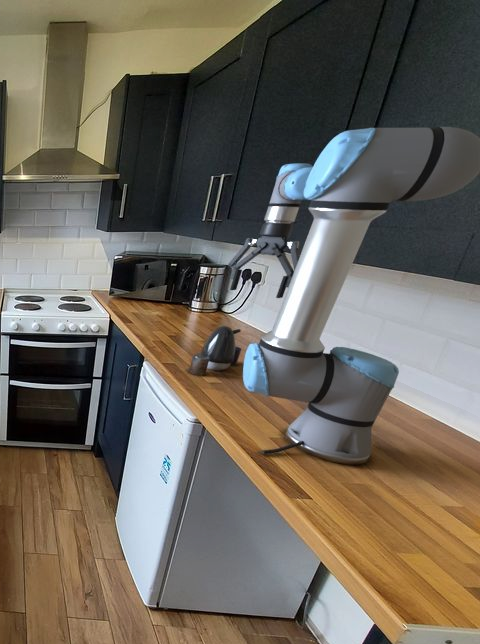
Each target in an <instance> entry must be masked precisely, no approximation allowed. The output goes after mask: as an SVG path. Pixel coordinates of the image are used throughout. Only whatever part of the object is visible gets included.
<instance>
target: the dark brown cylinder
mask: <svg viewBox="0 0 480 644" xmlns="http://www.w3.org/2000/svg"><path fill="white" fill-rule="evenodd" d="M209 360H210V357H208V356H206V355H202V354H200V353H194V354H193V355H192V358H191V362H190V365H189V369H188V373H189V374H191V375H194V376H201V377H203V376H205V375H206V373H207V370H208V368H207V366H208V363H209Z"/></svg>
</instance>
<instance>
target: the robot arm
mask: <svg viewBox="0 0 480 644" xmlns="http://www.w3.org/2000/svg"><path fill="white" fill-rule="evenodd" d="M479 173H480V137H479V136H478V135H476V134H475V133H474V132H472V131H470V130H466V129H463V128H460V127H453V126H436V127H368V128H359V129H350V130H349V129H348V130H345V131H343V132H340V133H339V134H337V135H336V136H334V137H333V138H332V139H331V140H330V141H329V142H328V143H327V145H326V146H325V147H324V148H323V150H322V151H321V153H320V154H319V155H318V157H317V159H316V160H315V162H314V165H312V164H310V163H303V162H302V163H299V162H297V163H285V164H283V165H282V166H281V167H280V169H279V172H278V175H277V176H276V178H275V179H276V180H275V184H274V187H273V190H272V194H271V196H270V201H269V203H268V206H267V210H266V212H265V215H264V219H263V220H264V221H265V222H264V223H262V225H261V228H260V231H259V236H258V238H256V239H255V238H254V237H248V238H247V237H246V239H245V241H244V244H243V246H241V248H240V249H239V250H238V252H236V254H235V255H234V256H233V257H232V259H231V260H230V261H229V262H228V264H227V267H230V268H231V269H232V272H231V275H230V280H232V282H231V284H230V288H229V291H236V290H237V289H238V286H239V282H240V279H241V276H242V272H243V269H241V268H242V267H244V266H245V265H247V264H248V263H250V261H252V260H253V259H254V258H256V257H258V256H259V255H262V256H263V255H265V256H266V255H268V256H275V257H276V258H277V260H278V261H279V263H280V266H281V267H282V268H283V270H284V272H285V274H286V275H283V276H282V279H281V281H280V284H279V288H278V290H277V292H276V293H277V294H276V296H275V298H276V299H281V298H283V300H282V303H281V305H280V309H279V311H278V314H277V317H276V319H275V322H274V325H273V327H272V329H271V330H270V331H268V332H266V333H264V334H262V335H261V337H260V340H259V343H257V342H254V343H250V344H249V345H248V347H247V349H246V352H245V353H244V354H245V355H244V360H243V370H242V379H243V385H244V388H245V389H246V390H247V391H248V392H250V393H253V394H258V395H263V396H265V397H271V398H279V399H284V400H290V401H295V402H296V401H297V402H301V403H302V402H303V403H308V404H307V407H306V408H305V410H304V411H302V413H300V415H299V416H298V417H296V419H295V420H294V421H292V422H291V423H290V424H289V426H287V429H286V432H285V439H286V440H287V441H288V442H289V443H290V444H287V445H284V446H281V447H277V448H273V449H264V450H261V451H260V454H262V455H267V454H275V453H279V452H283V451H286V450H289V449H292V448H297V449H299V450H301V451H302V452H304V453H306V454H309V455H311V456H313V457H316V458H318V459H322V460H325V461H329V462H332V463H337V464H343V465H352V466H354V465H356V466H357V465H364V464H365V463H366V462H368V460H369V458H370V456H371V453H372V428H373V425H374V423H375V422H376V420H377V418H378V416H379V415H380V412H381V411H382V409H383V407H384V405H385V403H386V401H387V399H388V398H389V395H390V394H391V392H392V390H393V389H394V388H395V385H396V382H397V379H398V376H399V373H400V370H399V368H398V366H397V365H396V364H395V363H393V362H392V361H390V360H387V359H386V358H383V357H380V356H378V355H376V354H373V353H370V352H365V351H362V350H359V349H354V348H351V347H345V346H334V347H333V348H332V349H331V350H329V353H327V352H325V350H326V349H325V348H326V346H325V345H324V343H322V341H321V337H322V334H323V332H324V329H325V328H326V325H327V322H328V320H329V318H330V316H331V313H332V312H333V309H334V306H335V305H336V302H337V299H338V297H339V295H340V293H341V290H342V288H343V287H344V284H345V281H346V279H347V277H348V275H349V272H350V270H351V268H352V265H353V263H354V260H356V259H355V258H356V256H357V254H358V252H359V249H360V247H361V245H362V243H363V240H364V238H365V236H366V233H367V232H368V228H369V227H370V224H371V222H372V221H374V220H375V219H376V218H379V217H380V216H382V215H383V214H385V213H386V212H387V211H388V208H389V206H390V204H391V202H418V201H427V200H433V199H439V198H443V197H446V196H448V195H451V194H453V193H455V192H457V191H459V190H461V189H463V188H464V187H466V186H467V185H468V184H470V183H471V182H472V181H473V180H474V179H475V178H476V177H477V176H478V175H479ZM302 201H310V203H309V206H308V211H309V212H310V214H311V215H312V216H313V221H312V223H311V226H310V229H309V232H308V234H307V237H306V239H305V242H304V245H303V247H302V250H301V251H300V246H301V241H300V240H297V241H296V240H295V241H289V238H290V236H291V232H292V230H293V227H294V225H293V224H292V223H294V222H295V221H296V218H297V215H298V212H299V209H300V206H301V203H302ZM254 245H255V246H256V248H254V250H252V251H251V252H250V253H249V254H247V252H248V251H249V250H250V248H251V247H252V246H254ZM287 247H288V249H289V250H290V256H291V262H292V265H291V263H290V261H289V259H288V257H287V256H286V252H285V250H284V249H286V248H287ZM300 252H301V253H300ZM246 254H247V255H246ZM245 255H246V256H245ZM244 256H245V257H244ZM243 257H244V258H243ZM242 258H243V259H242ZM292 266H293V267H292ZM286 289H287V290H286ZM285 292H286V293H285ZM284 295H285V296H284Z"/></svg>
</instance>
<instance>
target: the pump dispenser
mask: <svg viewBox="0 0 480 644" xmlns="http://www.w3.org/2000/svg"><path fill="white" fill-rule="evenodd" d="M241 332H242V330H241V329H240V328H238V329H235V330H234V329H232V328H231V327H230V326H228V325H221V326H218V327H217V328H215V330H213V331H212V332H211V333H210V335H209V336H208V338H207V339H206V341H205V342H204V344H203V346H202V348H201V351H200V353H199V354H202V355H206V356H208V357H210V360H209V363H208V366H207V370H211V371H215V372H216V371H219V372H220V371H224V370H226V369H228V368H229V367H230V364H231V363H232V362H233V360H234V355H235V346H236V337H235V335H236V334H239V333H241Z"/></svg>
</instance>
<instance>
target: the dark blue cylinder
mask: <svg viewBox="0 0 480 644" xmlns="http://www.w3.org/2000/svg"><path fill="white" fill-rule="evenodd" d="M241 352H242V347H239V346H236V345H235V355H234V360H233V362H232V363H231V364H230V365H229V367H230V366H231V367H235V366H237V364H238V362H239V358H240V355H241Z"/></svg>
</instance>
